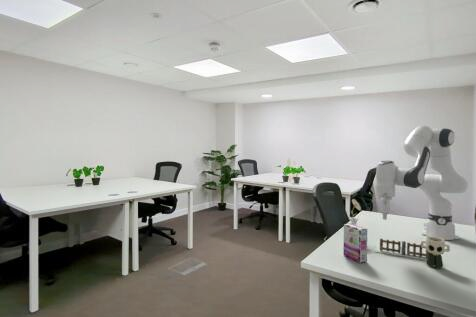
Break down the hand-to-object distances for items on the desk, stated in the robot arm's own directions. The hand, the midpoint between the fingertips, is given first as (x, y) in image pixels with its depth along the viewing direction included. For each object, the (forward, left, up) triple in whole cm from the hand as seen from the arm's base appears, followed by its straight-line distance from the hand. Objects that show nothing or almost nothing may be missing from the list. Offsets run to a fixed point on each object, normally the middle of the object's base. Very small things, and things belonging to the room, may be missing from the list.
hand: (384, 218), depth 140 cm
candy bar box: (+12, -13, -19) cm, 26 cm away
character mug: (+4, +21, -19) cm, 29 cm away
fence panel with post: (-5, +14, -19) cm, 24 cm away
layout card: (-10, +9, -19) cm, 23 cm away
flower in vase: (-16, -16, -19) cm, 30 cm away
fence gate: (-5, +3, -18) cm, 19 cm away
